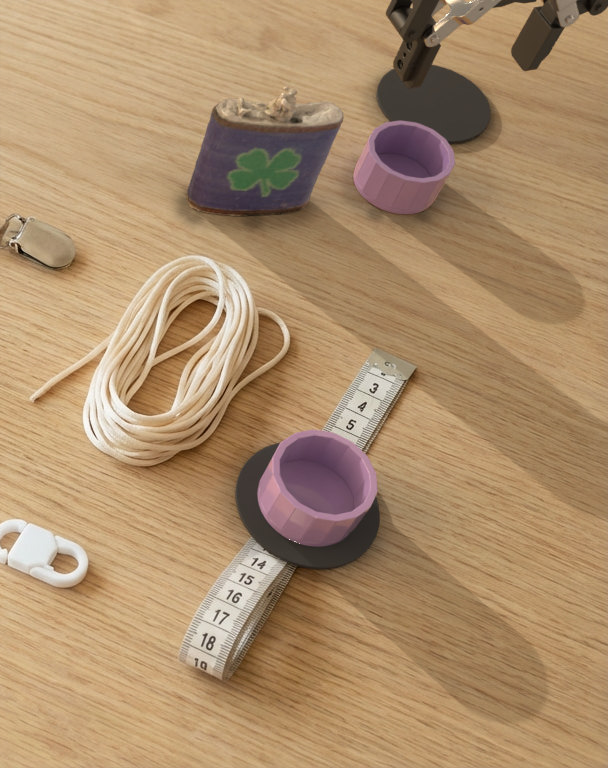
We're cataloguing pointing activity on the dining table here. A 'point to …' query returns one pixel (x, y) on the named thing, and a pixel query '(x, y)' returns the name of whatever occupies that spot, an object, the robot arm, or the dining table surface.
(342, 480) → the dish
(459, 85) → the coaster back
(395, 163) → the dish
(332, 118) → the flask
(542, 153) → the dining table surface
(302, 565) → the disc
